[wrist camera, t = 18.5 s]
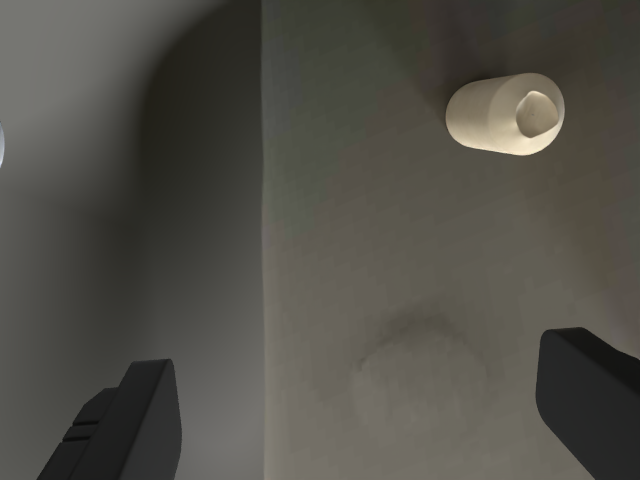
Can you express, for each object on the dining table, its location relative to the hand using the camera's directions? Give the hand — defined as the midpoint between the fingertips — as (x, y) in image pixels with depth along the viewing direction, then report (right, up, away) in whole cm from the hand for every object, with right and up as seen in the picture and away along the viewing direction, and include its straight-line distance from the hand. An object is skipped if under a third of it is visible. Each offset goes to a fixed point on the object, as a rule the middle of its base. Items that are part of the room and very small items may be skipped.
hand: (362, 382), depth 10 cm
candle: (+12, +14, +31) cm, 36 cm away
